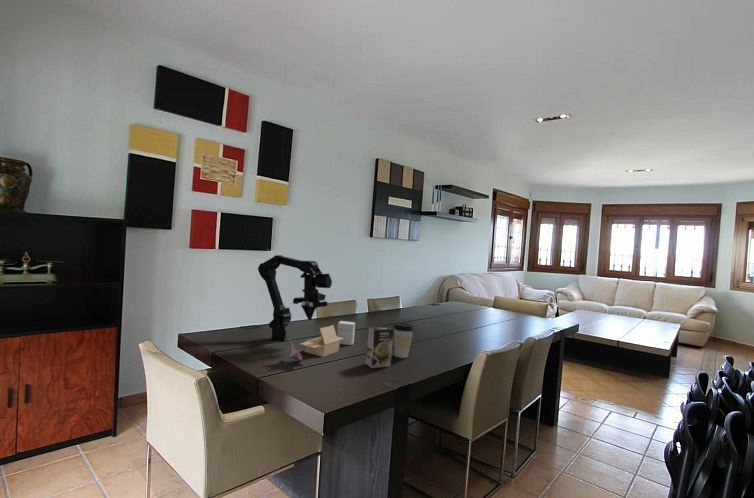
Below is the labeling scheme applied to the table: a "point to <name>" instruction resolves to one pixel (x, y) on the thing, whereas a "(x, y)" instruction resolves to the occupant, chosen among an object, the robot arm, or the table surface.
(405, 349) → the coffee cup
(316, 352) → the carton
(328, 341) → the flap
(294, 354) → the lily
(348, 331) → the small box
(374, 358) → the coffee box
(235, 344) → the table surface
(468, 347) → the table surface
